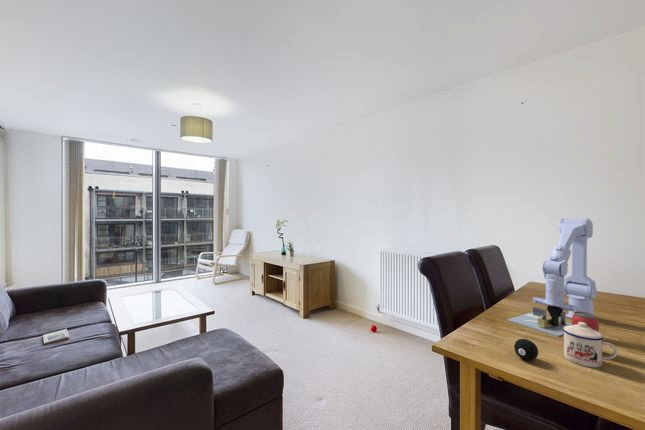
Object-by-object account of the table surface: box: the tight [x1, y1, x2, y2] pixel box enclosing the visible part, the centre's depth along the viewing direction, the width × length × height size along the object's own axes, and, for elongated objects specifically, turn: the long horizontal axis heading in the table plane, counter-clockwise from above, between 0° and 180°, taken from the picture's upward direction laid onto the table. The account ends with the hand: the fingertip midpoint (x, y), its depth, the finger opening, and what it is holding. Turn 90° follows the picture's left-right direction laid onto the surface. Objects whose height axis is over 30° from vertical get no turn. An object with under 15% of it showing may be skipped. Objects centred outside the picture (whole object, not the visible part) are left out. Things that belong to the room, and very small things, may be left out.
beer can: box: [571, 311, 600, 333], centre depth 93 cm, size 7×7×12 cm
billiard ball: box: [513, 338, 539, 361], centre depth 87 cm, size 6×6×6 cm
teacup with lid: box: [563, 322, 618, 368], centre depth 86 cm, size 12×9×12 cm
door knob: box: [559, 310, 567, 326], centre depth 115 cm, size 4×4×5 cm
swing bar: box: [538, 315, 561, 328], centre depth 112 cm, size 10×2×4 cm, turn 110°
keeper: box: [532, 307, 547, 317], centre depth 124 cm, size 2×4×3 cm, turn 28°
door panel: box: [506, 312, 572, 338], centre depth 116 cm, size 19×18×1 cm
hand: (554, 325), depth 111 cm, fingers closed, pressing on swing bar
